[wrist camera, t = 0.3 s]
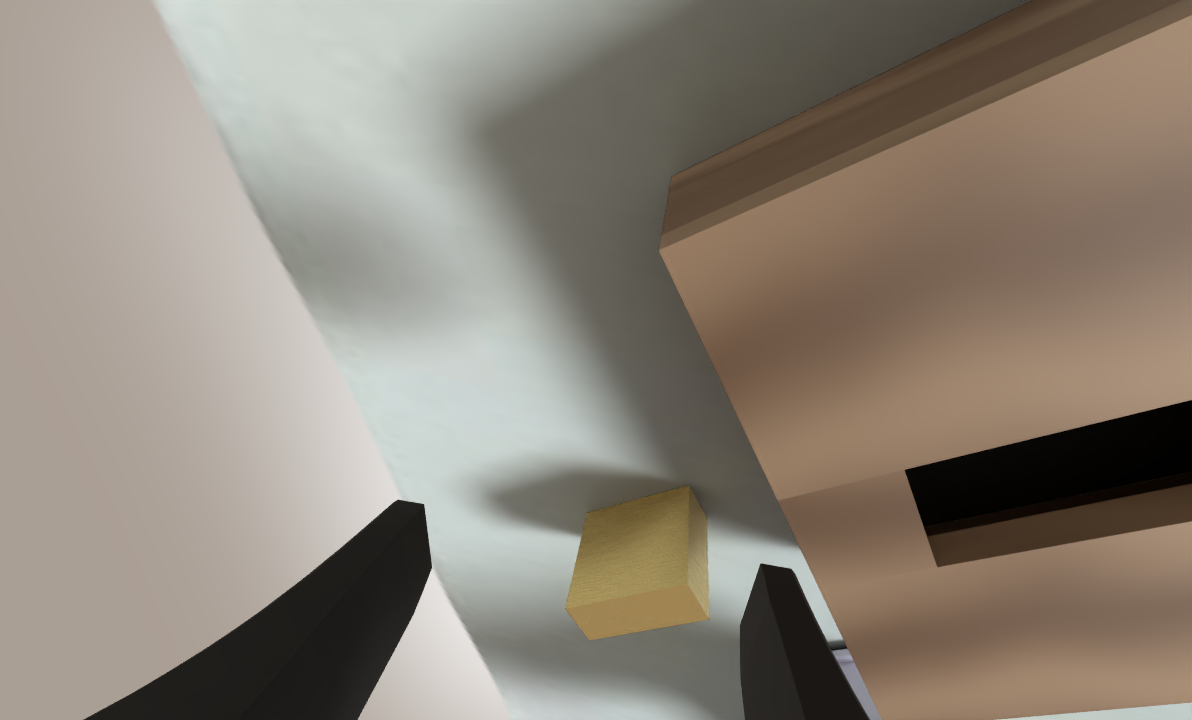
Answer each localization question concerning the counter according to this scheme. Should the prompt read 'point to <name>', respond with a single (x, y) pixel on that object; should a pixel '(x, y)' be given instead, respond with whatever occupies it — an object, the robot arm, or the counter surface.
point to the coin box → (969, 349)
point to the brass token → (641, 566)
